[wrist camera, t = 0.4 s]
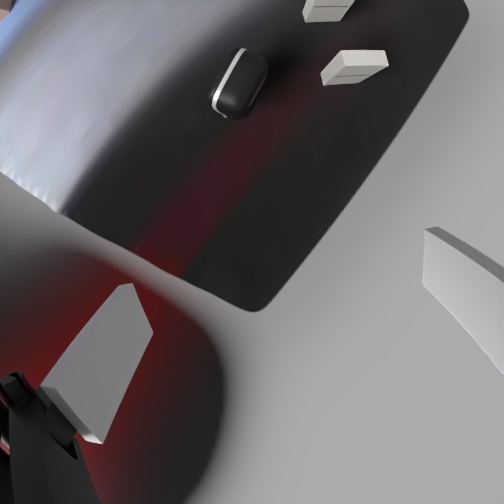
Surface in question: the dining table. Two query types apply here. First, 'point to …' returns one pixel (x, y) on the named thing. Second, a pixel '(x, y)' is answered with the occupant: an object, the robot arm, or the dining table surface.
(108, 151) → the dining table surface
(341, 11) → the domino
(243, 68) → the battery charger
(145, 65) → the dining table surface
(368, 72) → the end domino
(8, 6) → the planter corral
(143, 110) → the dining table surface
